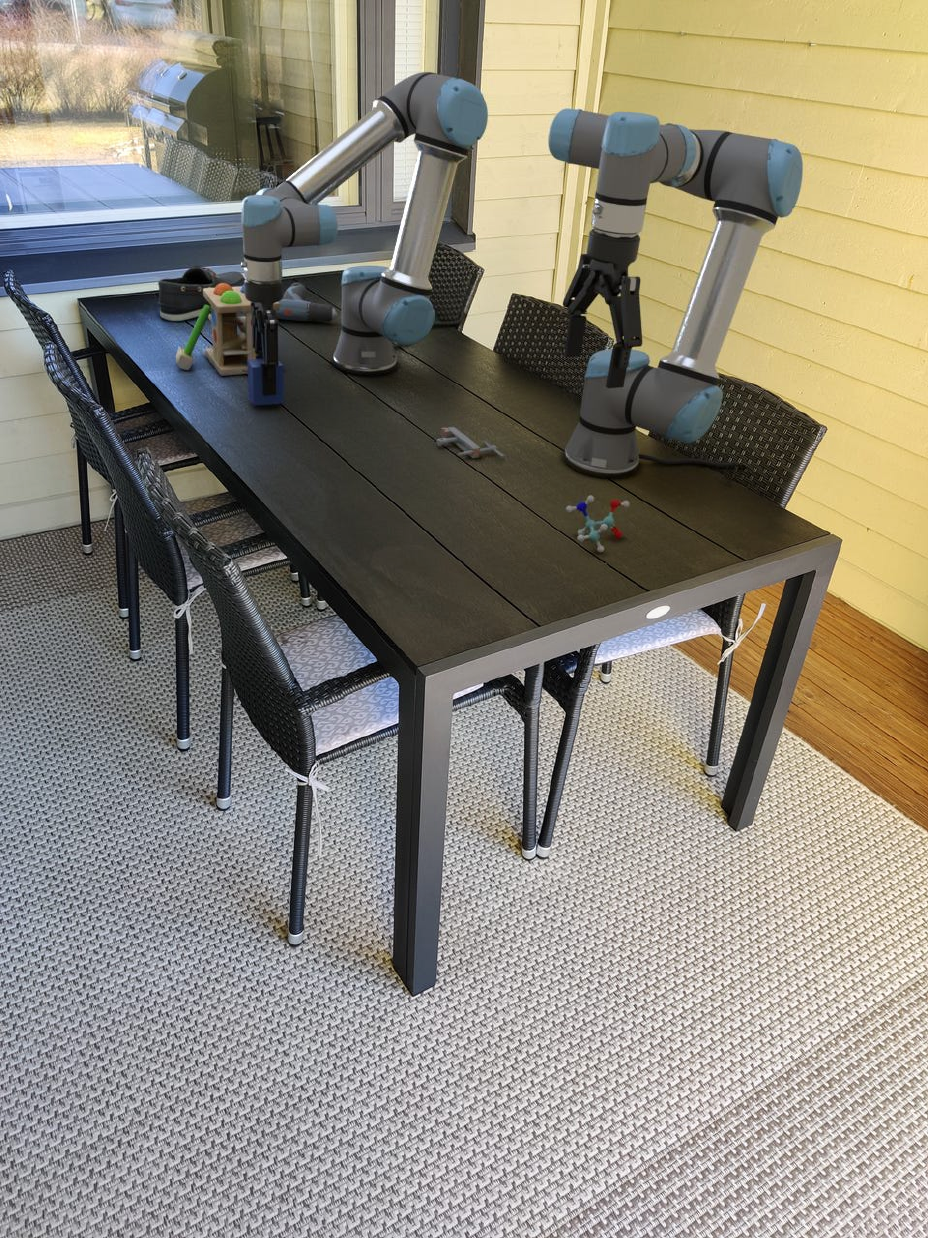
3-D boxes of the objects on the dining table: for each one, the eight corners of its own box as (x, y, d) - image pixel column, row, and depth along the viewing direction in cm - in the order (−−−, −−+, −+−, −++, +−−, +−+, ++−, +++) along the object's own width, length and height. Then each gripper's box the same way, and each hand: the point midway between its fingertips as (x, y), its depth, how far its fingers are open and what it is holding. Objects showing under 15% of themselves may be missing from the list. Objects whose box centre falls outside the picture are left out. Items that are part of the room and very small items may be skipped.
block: (248, 396, 212) (247, 359, 208) (278, 394, 215) (277, 357, 210) (254, 405, 209) (252, 367, 204) (284, 403, 211) (283, 365, 207)
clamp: (428, 429, 204) (470, 423, 208) (427, 439, 205) (469, 432, 209) (464, 459, 193) (507, 451, 198) (463, 469, 194) (506, 461, 199)
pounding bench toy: (183, 379, 220) (176, 299, 210) (169, 357, 231) (162, 280, 221) (282, 371, 230) (280, 294, 220) (264, 350, 240) (262, 276, 230)
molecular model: (629, 546, 167) (611, 490, 165) (576, 561, 170) (559, 506, 169) (639, 535, 177) (623, 482, 176) (590, 549, 181) (573, 498, 179)
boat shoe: (265, 300, 274) (264, 261, 269) (177, 323, 251) (173, 281, 245) (232, 291, 280) (229, 254, 275) (142, 313, 256) (138, 272, 251)
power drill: (344, 304, 276) (335, 327, 259) (277, 298, 275) (264, 321, 258) (344, 285, 273) (335, 306, 256) (277, 279, 272) (264, 300, 255)
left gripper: (234, 267, 203) (239, 375, 216) (255, 292, 190) (259, 406, 203) (270, 266, 206) (273, 373, 219) (293, 291, 192) (294, 404, 205)
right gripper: (553, 211, 151) (536, 345, 163) (638, 254, 133) (612, 402, 145) (595, 210, 154) (575, 343, 166) (684, 253, 136) (655, 398, 148)
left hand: (266, 389), depth 211 cm, fingers closed on block, 5 cm apart
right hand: (592, 371), depth 156 cm, fingers open, 13 cm apart
